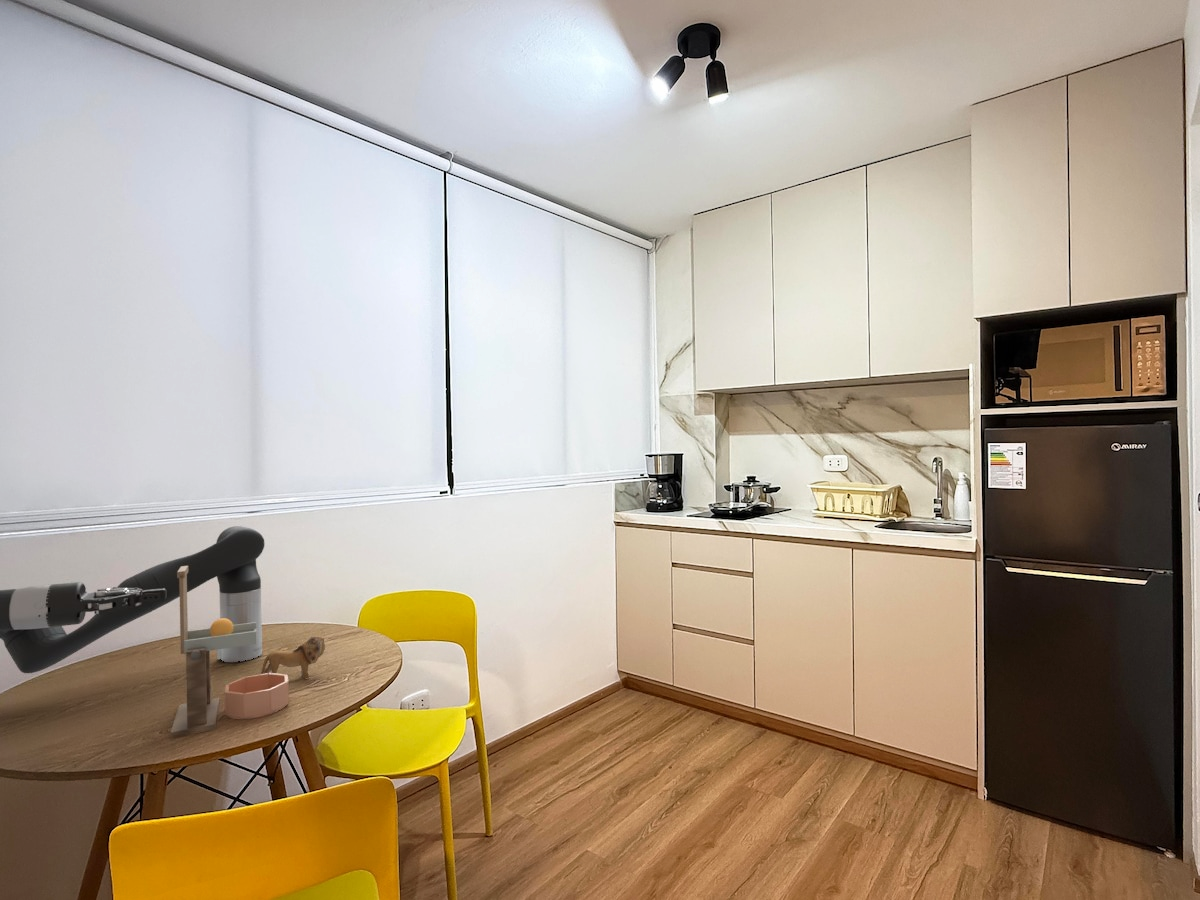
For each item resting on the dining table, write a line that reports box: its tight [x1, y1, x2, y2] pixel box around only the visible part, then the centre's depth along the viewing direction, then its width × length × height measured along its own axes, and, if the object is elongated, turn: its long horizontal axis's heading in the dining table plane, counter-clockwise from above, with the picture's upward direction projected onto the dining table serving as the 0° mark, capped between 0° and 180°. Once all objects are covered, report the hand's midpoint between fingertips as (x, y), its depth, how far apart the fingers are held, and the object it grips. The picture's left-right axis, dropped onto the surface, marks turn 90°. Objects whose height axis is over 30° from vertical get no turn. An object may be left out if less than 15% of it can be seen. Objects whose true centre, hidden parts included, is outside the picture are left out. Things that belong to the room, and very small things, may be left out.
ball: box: [209, 618, 233, 637], centre depth 126 cm, size 4×4×4 cm
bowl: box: [224, 672, 290, 720], centre depth 129 cm, size 11×11×5 cm
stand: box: [170, 647, 221, 739], centre depth 124 cm, size 7×15×15 cm, turn 28°
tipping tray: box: [177, 566, 256, 655], centre depth 126 cm, size 13×8×16 cm, turn 118°
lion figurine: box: [260, 635, 326, 679], centre depth 146 cm, size 15×5×9 cm, turn 117°
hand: (165, 594), depth 122 cm, fingers closed
